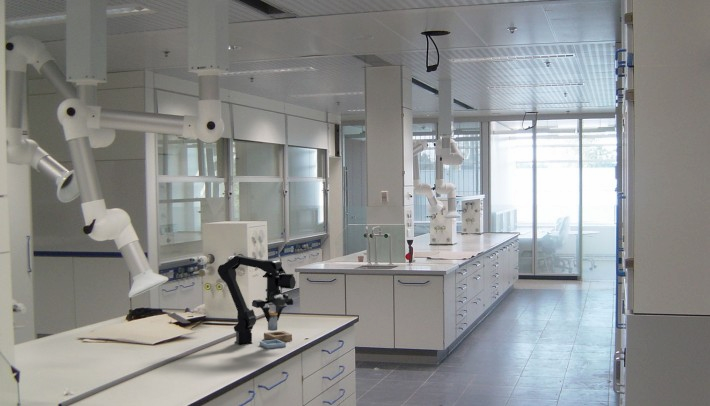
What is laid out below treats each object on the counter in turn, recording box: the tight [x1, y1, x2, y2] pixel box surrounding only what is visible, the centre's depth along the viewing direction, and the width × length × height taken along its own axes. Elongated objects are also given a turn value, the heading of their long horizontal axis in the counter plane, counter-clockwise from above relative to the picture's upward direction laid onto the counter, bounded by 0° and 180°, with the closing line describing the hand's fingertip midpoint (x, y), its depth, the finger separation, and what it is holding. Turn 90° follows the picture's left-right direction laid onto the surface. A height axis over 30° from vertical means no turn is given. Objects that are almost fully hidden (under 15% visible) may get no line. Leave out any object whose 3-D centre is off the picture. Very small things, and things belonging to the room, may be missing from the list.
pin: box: [267, 311, 278, 332], centre depth 339 cm, size 5×5×8 cm
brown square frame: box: [263, 330, 293, 343], centre depth 352 cm, size 10×10×3 cm
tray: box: [259, 339, 287, 350], centre depth 339 cm, size 9×9×2 cm
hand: (272, 321), depth 339 cm, fingers closed on pin, 4 cm apart
